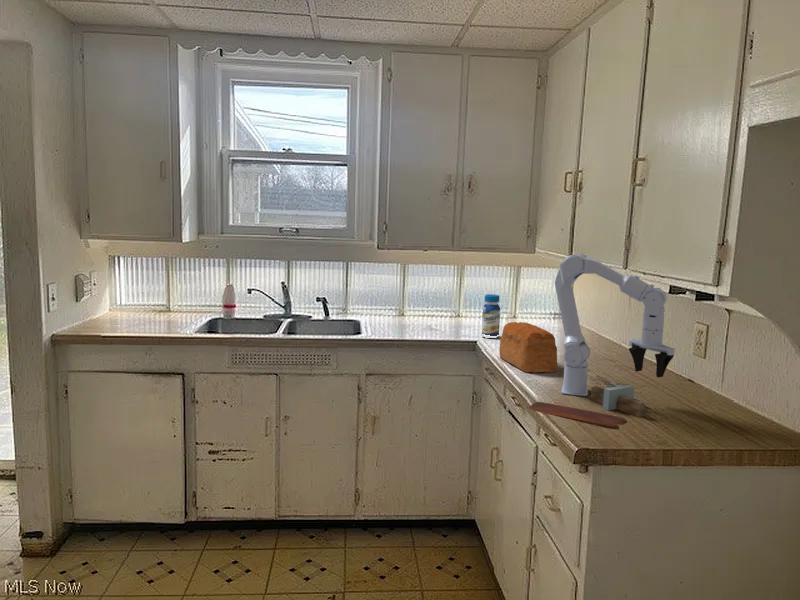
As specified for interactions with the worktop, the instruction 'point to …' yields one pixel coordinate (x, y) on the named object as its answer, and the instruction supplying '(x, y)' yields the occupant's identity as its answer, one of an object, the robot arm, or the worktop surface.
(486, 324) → the beverage bottle
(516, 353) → the bread
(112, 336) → the worktop surface
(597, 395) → the walnut slotted rail
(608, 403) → the grey notched plate
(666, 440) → the worktop surface
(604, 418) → the wooden tablet
